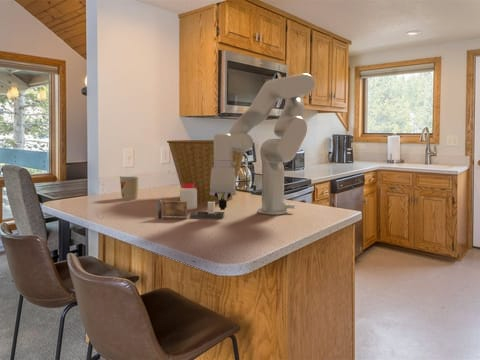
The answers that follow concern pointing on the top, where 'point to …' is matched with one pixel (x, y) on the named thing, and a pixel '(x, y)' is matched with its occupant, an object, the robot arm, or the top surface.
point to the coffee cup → (129, 187)
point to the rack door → (175, 208)
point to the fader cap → (211, 207)
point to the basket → (199, 165)
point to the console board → (207, 215)
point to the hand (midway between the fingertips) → (222, 209)
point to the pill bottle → (189, 195)
